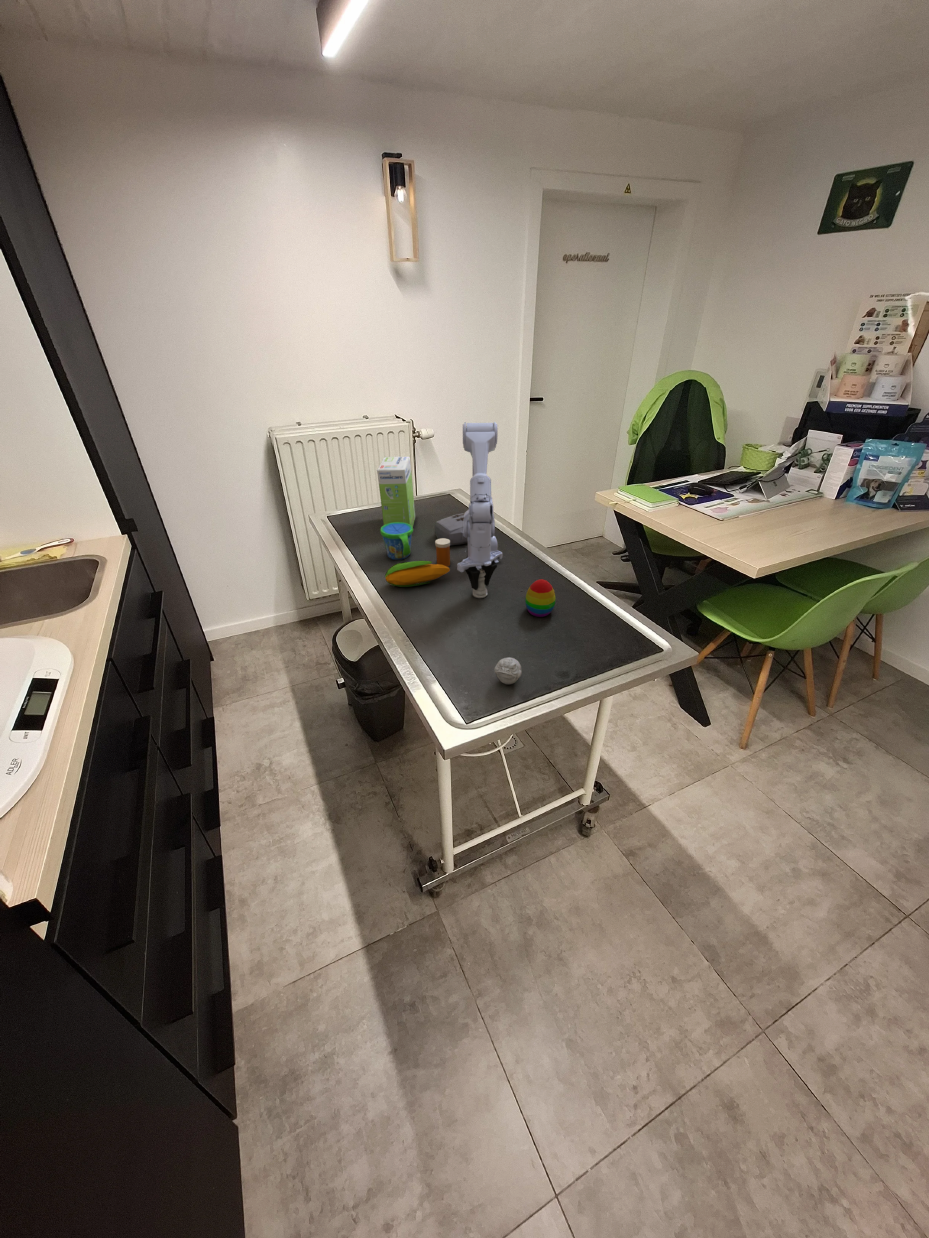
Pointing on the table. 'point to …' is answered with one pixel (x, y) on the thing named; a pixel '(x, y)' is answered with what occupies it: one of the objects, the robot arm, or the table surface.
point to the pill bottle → (443, 551)
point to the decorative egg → (540, 598)
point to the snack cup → (397, 539)
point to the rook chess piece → (480, 586)
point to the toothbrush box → (396, 490)
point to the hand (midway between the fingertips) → (480, 586)
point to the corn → (414, 573)
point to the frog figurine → (508, 670)
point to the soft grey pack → (451, 529)
